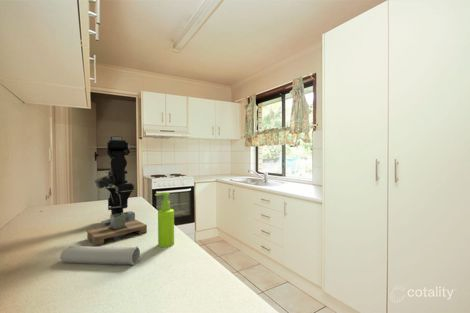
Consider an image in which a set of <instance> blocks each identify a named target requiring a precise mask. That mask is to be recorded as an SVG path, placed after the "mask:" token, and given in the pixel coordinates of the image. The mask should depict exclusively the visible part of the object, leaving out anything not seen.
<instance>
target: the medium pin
mask: <svg viewBox="0 0 470 313" xmlns="http://www.w3.org/2000/svg"><path fill="white" fill-rule="evenodd" d="M122 214H124V215H125V222H129V221H133V220H136V213H135V212H134V211H133V210H131V211H125V212H124V211H123V213H122Z"/></svg>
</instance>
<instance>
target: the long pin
mask: <svg viewBox="0 0 470 313" xmlns="http://www.w3.org/2000/svg"><path fill="white" fill-rule="evenodd" d="M109 219H110V230H112V231H115V230H120V229H124V228H125V215H124V214H122V213H118V214H113V215H111V214H110V215H109ZM125 236H126V234H122V235H118V236H114V237H112V238H113V239H118V238H123V237H125Z"/></svg>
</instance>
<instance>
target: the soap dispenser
mask: <svg viewBox="0 0 470 313" xmlns="http://www.w3.org/2000/svg"><path fill="white" fill-rule="evenodd" d="M154 195H155V197H158V196H163V200H161V201H160V203H161V204H160V205H161V206H160V207H161V208H160V209H159V210H157V237H158V238H157V239H158V240H157V242H158V243H157V244H158V247H159V248H170V247H173V246H174V245H175V209H173V208H171V201H170V200H169V196H170V195H171V194H170V192H168V191H167V192H166V191H165V192H158V193H155V194H154Z"/></svg>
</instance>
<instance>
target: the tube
mask: <svg viewBox="0 0 470 313" xmlns="http://www.w3.org/2000/svg"><path fill="white" fill-rule="evenodd" d="M140 258H141V250H140V248H139V247H138V246H135V247H132V246H131V247H130V246H129V247H128V246H127V247H126V246H96V247H95V246H81V245H80V246H79V245H77V246H76V245H75V246H74V245H73V246H72V245H71V246H68V247H66V248H64V249H62V251H61V253H60V257H59V260H61V261H62V262H63V263H65V264H89V265H90V264H91V265H92V264H93V265H118V266H120V265H122V266H123V265H125V266H135V265H136V264H138V262H139V260H140Z"/></svg>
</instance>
